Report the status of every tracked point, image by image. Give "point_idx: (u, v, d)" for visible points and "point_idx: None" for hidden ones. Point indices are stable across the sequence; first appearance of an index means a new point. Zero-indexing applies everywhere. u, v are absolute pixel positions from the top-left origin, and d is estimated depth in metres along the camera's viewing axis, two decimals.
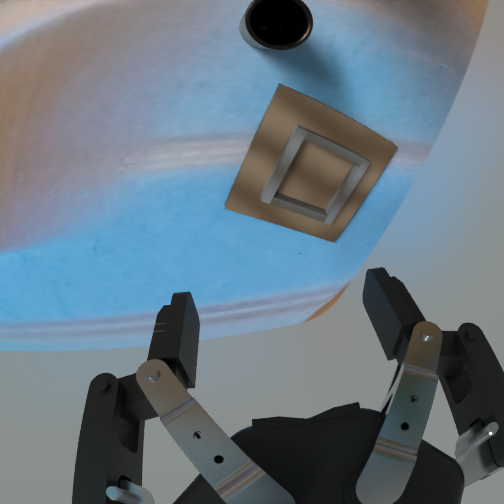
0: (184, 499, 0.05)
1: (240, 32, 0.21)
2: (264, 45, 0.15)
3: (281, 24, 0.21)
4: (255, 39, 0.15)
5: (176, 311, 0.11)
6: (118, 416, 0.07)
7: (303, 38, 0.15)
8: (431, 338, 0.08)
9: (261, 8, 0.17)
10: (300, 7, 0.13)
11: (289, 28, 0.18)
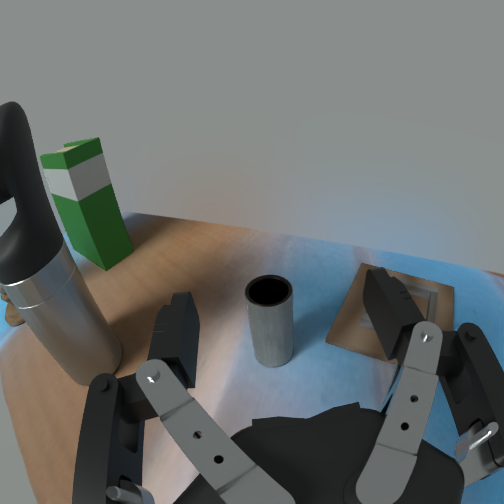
0: (184, 499, 0.05)
1: (276, 361, 0.30)
2: (288, 297, 0.26)
3: None
4: (282, 301, 0.26)
5: (176, 311, 0.11)
6: (118, 416, 0.07)
7: (282, 278, 0.28)
8: (431, 338, 0.08)
9: None
10: (258, 280, 0.29)
11: None
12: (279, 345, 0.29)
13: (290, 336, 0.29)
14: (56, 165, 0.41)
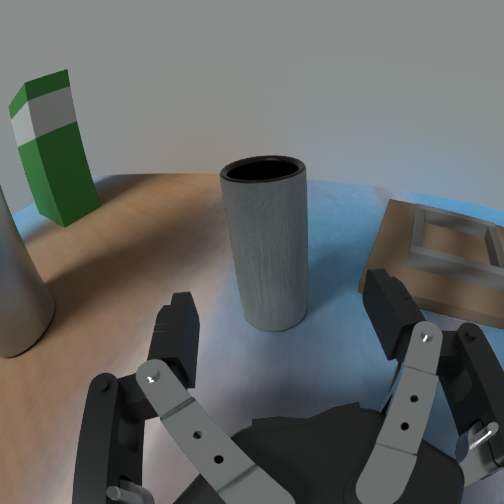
0: (184, 499, 0.05)
1: (279, 317, 0.18)
2: (299, 171, 0.14)
3: None
4: (289, 176, 0.13)
5: (176, 311, 0.11)
6: (118, 416, 0.07)
7: (287, 157, 0.16)
8: (431, 338, 0.08)
9: None
10: (245, 163, 0.16)
11: None
12: (285, 282, 0.16)
13: (304, 267, 0.17)
14: (19, 104, 0.29)
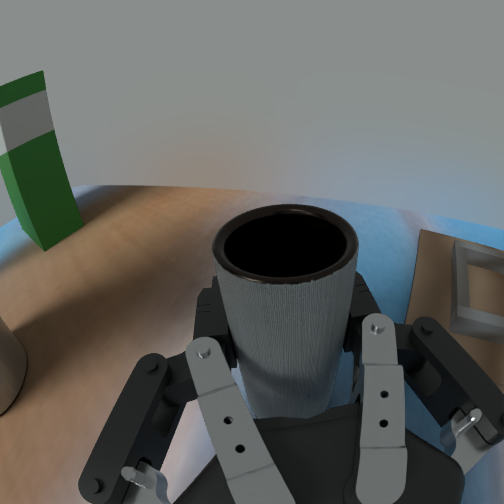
0: (184, 499, 0.05)
1: None
2: (351, 253, 0.08)
3: None
4: (337, 266, 0.07)
5: (219, 292, 0.12)
6: (158, 399, 0.08)
7: (322, 210, 0.10)
8: (381, 330, 0.09)
9: None
10: (254, 218, 0.10)
11: None
12: (309, 393, 0.10)
13: (336, 368, 0.11)
14: None
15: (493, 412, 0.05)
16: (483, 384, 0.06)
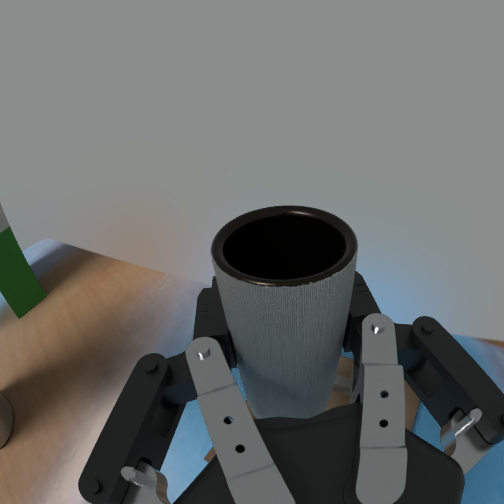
0: (184, 499, 0.05)
1: None
2: (350, 255, 0.08)
3: None
4: (336, 268, 0.07)
5: (219, 292, 0.12)
6: (158, 399, 0.08)
7: (322, 212, 0.10)
8: (381, 330, 0.09)
9: None
10: (253, 219, 0.10)
11: None
12: (309, 394, 0.10)
13: (335, 369, 0.11)
14: None
15: (493, 412, 0.05)
16: (483, 384, 0.06)
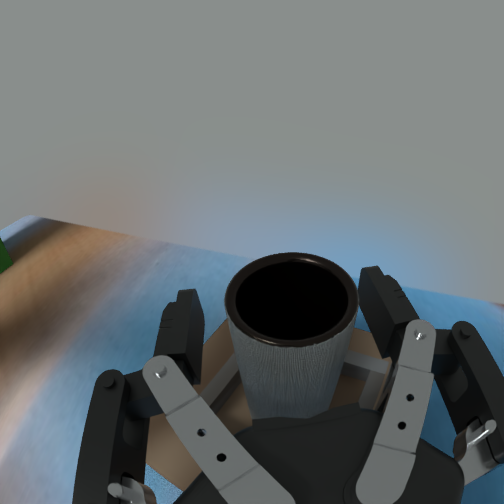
0: (184, 499, 0.05)
1: None
2: (351, 315, 0.08)
3: None
4: (338, 330, 0.08)
5: (182, 308, 0.11)
6: (123, 413, 0.07)
7: (328, 262, 0.11)
8: (424, 336, 0.08)
9: None
10: (263, 267, 0.11)
11: None
12: (307, 417, 0.11)
13: (332, 396, 0.12)
14: None
15: None
16: None
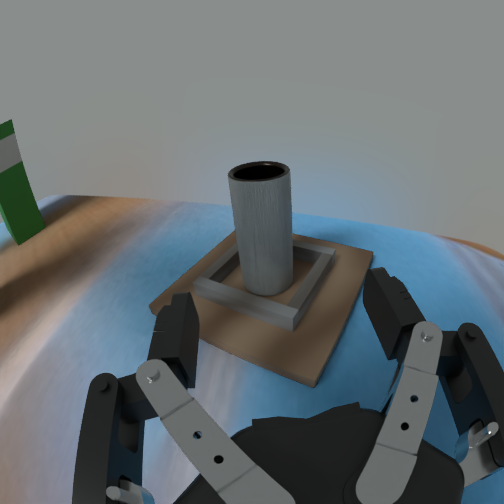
0: (184, 499, 0.05)
1: (269, 283, 0.24)
2: (283, 174, 0.19)
3: None
4: (276, 177, 0.19)
5: (176, 311, 0.11)
6: (118, 416, 0.07)
7: (278, 163, 0.21)
8: (431, 338, 0.08)
9: None
10: (247, 166, 0.22)
11: None
12: (273, 255, 0.22)
13: (288, 245, 0.23)
14: None
15: None
16: None
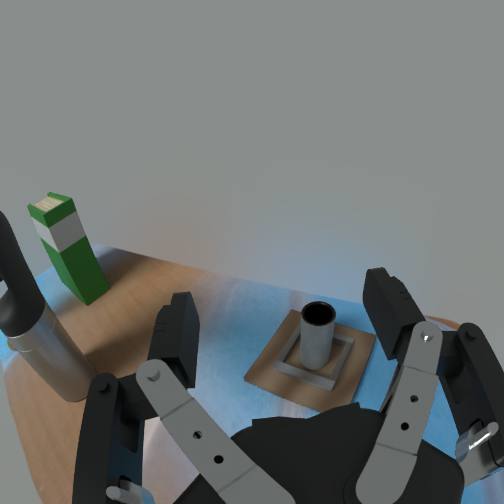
0: (184, 499, 0.05)
1: (317, 364, 0.39)
2: (333, 319, 0.35)
3: None
4: (329, 322, 0.34)
5: (176, 311, 0.11)
6: (118, 416, 0.07)
7: (328, 304, 0.37)
8: (431, 338, 0.08)
9: None
10: (310, 305, 0.38)
11: None
12: (322, 353, 0.38)
13: (330, 346, 0.38)
14: (39, 220, 0.49)
15: None
16: None
